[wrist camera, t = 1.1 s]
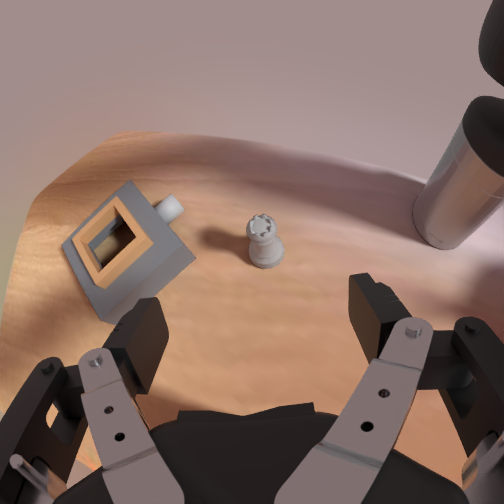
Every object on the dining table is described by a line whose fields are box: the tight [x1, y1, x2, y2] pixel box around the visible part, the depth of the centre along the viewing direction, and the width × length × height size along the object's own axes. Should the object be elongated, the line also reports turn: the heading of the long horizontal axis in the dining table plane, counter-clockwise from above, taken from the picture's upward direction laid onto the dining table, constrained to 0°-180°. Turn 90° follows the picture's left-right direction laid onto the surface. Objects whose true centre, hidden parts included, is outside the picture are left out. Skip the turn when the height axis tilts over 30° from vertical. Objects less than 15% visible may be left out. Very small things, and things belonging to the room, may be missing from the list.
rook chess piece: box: [246, 214, 285, 269], centre depth 34 cm, size 4×4×8 cm
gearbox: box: [62, 180, 196, 325], centre depth 37 cm, size 17×14×7 cm
